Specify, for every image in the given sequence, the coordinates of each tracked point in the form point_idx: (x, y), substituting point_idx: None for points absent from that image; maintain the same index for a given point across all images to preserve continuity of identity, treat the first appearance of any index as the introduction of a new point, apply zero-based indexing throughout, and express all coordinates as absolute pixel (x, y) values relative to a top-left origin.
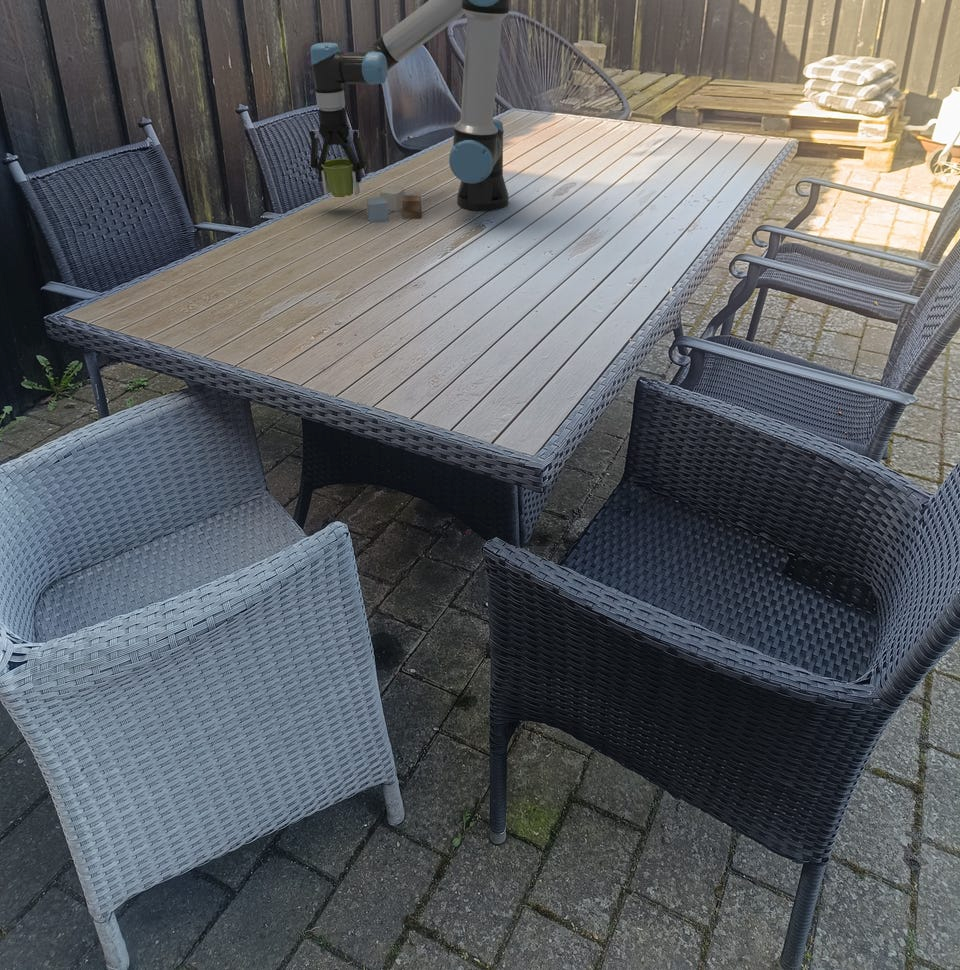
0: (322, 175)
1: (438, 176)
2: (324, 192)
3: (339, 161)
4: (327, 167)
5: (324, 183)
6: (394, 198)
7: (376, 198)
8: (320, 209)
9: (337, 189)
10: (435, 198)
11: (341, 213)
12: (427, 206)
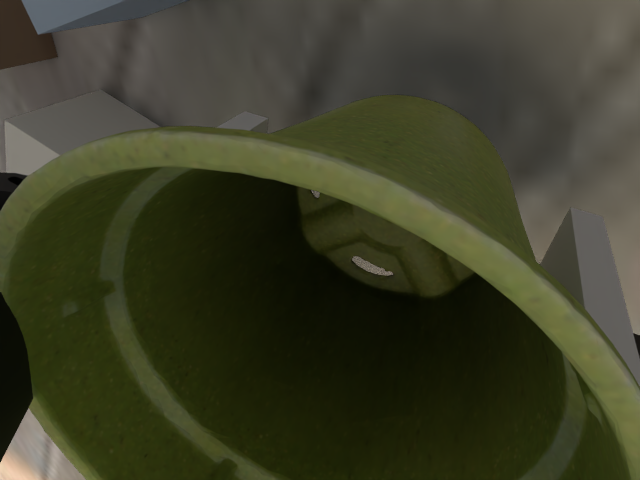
0: (631, 369)
1: None
2: (601, 227)
3: None
4: (506, 279)
5: (596, 283)
6: (44, 117)
7: (80, 14)
8: (636, 223)
9: (416, 111)
10: None
11: (452, 91)
12: (3, 153)
